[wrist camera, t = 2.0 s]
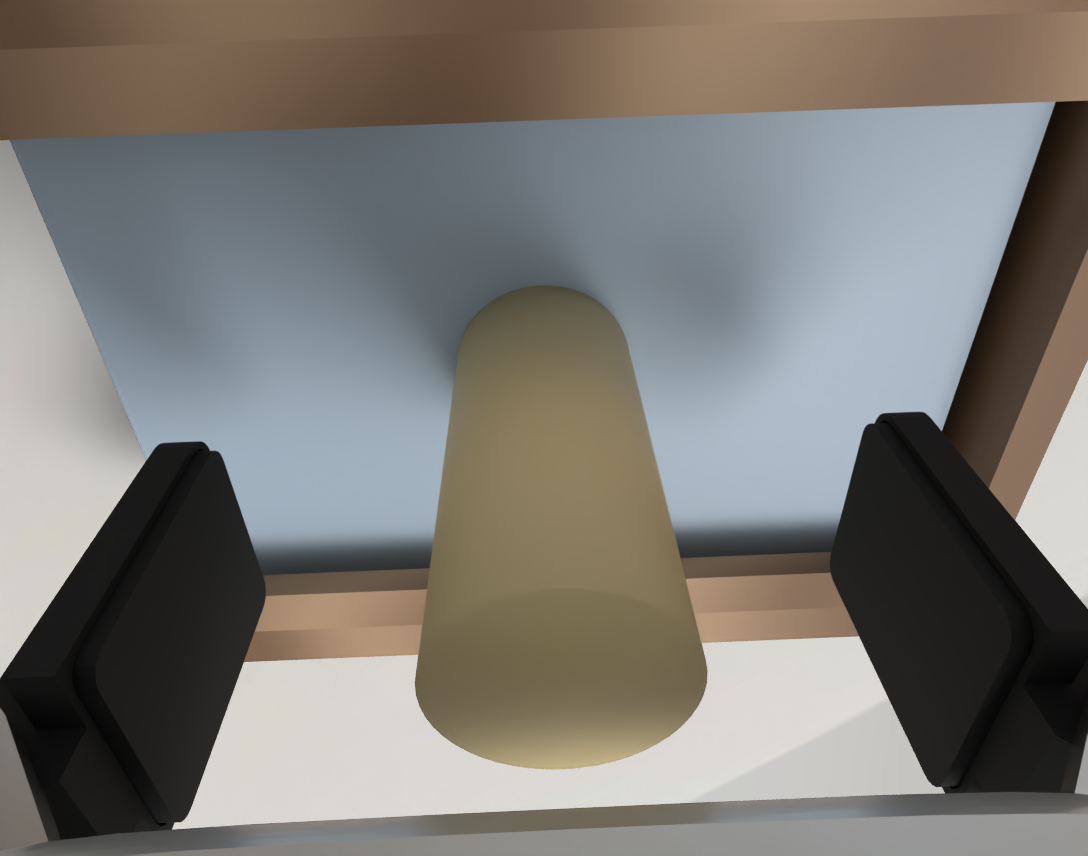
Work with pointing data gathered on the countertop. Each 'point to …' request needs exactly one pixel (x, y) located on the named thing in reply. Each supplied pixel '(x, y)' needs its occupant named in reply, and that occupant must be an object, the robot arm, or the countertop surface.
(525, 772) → the countertop surface
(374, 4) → the brown wooden open box
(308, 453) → the lid
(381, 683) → the countertop surface
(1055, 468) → the countertop surface
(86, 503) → the countertop surface
